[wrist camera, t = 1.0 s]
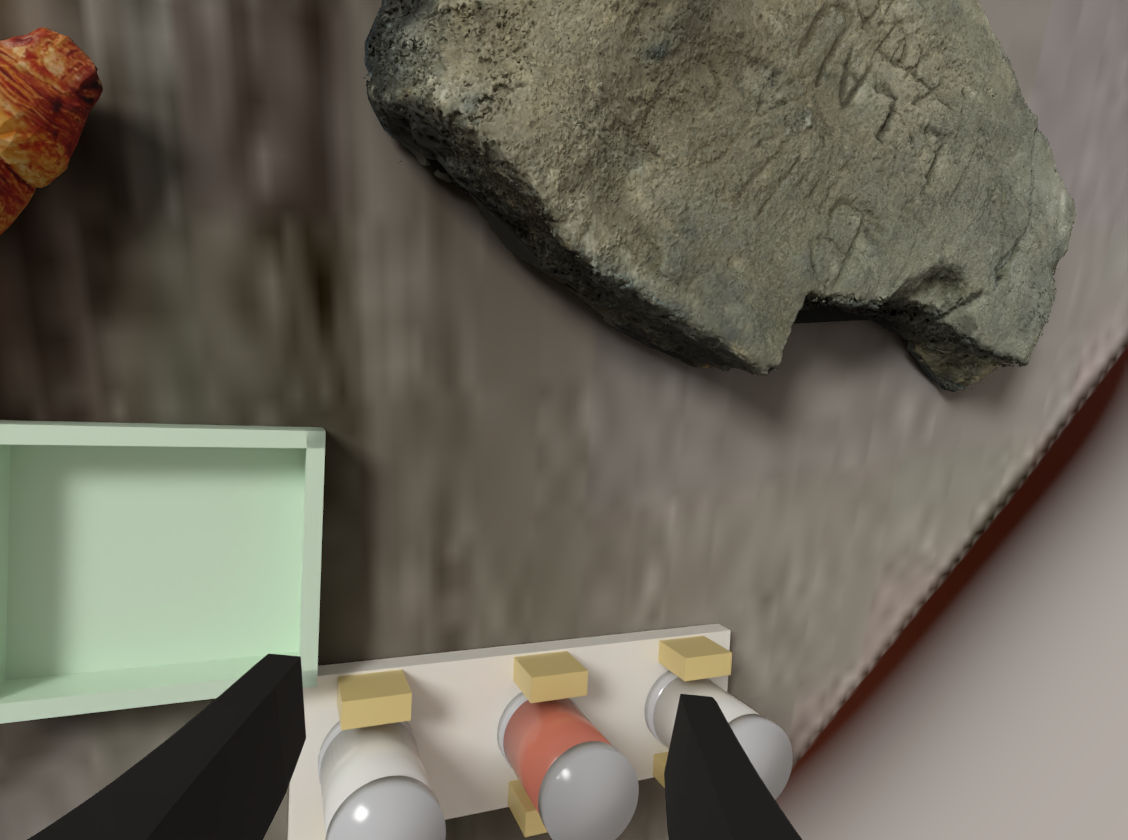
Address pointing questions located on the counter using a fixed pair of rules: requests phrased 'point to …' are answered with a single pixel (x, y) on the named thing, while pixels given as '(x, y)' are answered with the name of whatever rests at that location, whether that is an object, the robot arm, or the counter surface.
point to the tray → (153, 561)
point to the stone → (744, 165)
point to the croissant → (40, 113)
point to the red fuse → (568, 769)
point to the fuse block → (499, 710)
